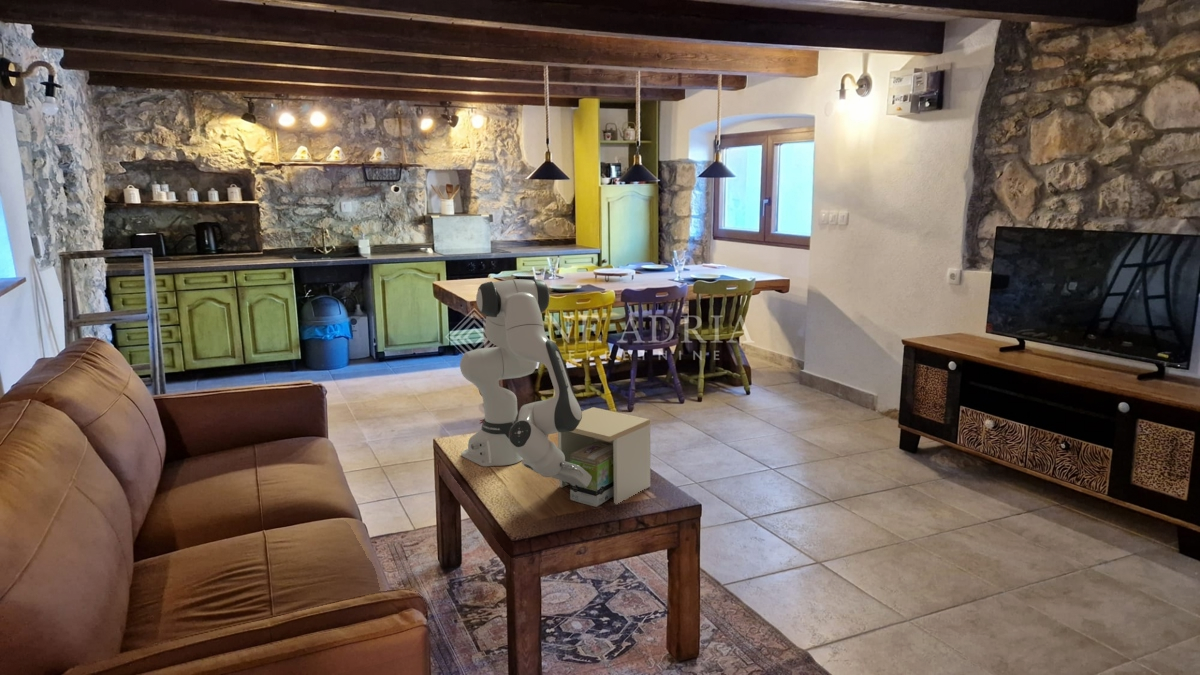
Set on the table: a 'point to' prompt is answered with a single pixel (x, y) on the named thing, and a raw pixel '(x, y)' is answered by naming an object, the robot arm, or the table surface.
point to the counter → (614, 447)
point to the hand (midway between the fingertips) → (571, 482)
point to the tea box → (594, 473)
